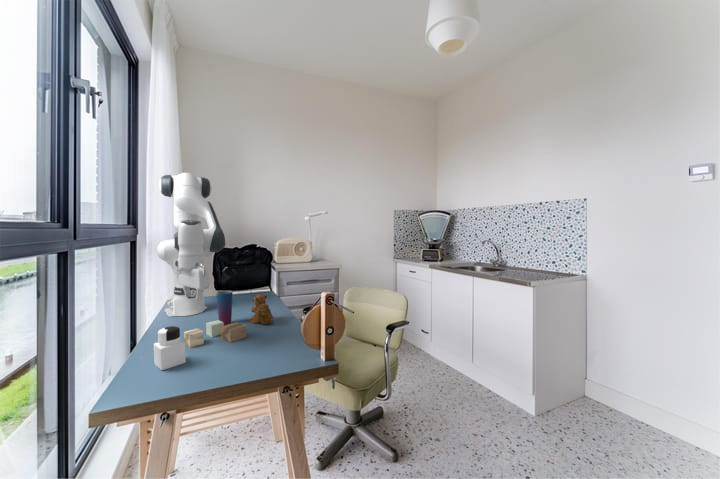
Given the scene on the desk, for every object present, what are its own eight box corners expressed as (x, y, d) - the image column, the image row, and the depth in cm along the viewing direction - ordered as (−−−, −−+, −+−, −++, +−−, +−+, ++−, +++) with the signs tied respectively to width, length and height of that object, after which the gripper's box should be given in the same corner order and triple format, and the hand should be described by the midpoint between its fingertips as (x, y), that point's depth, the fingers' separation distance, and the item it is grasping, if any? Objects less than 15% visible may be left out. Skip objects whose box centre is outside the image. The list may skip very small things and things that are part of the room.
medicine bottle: (177, 356, 102) (176, 323, 102) (186, 363, 98) (185, 327, 97) (153, 364, 97) (152, 328, 96) (161, 371, 92) (160, 333, 92)
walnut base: (221, 338, 119) (221, 326, 119) (237, 333, 125) (237, 322, 125) (230, 342, 115) (230, 330, 115) (246, 337, 121) (246, 325, 121)
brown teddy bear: (267, 316, 147) (267, 291, 147) (279, 324, 136) (278, 296, 136) (247, 321, 141) (246, 293, 140) (257, 329, 130) (257, 299, 130)
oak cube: (184, 344, 113) (184, 331, 113) (198, 340, 117) (197, 328, 117) (189, 348, 110) (189, 334, 110) (203, 343, 114) (203, 331, 114)
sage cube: (206, 334, 123) (206, 323, 123) (218, 331, 127) (217, 320, 127) (211, 337, 120) (211, 325, 120) (223, 333, 124) (223, 322, 124)
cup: (229, 326, 133) (228, 293, 132) (214, 326, 133) (213, 293, 132) (235, 321, 140) (235, 290, 139) (221, 321, 140) (220, 290, 139)
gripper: (213, 263, 108) (214, 300, 109) (189, 260, 121) (190, 293, 121) (195, 265, 103) (196, 304, 104) (172, 261, 116) (173, 296, 116)
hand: (193, 298), depth 113 cm, fingers open, 8 cm apart
